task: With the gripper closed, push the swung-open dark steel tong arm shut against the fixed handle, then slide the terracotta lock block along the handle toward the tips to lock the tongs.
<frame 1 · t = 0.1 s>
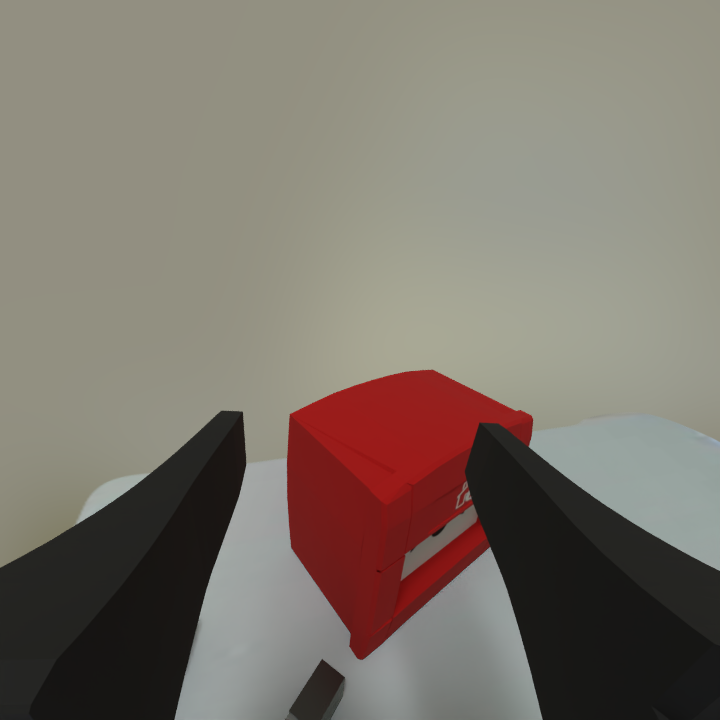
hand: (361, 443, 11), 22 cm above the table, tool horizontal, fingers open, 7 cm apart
red curved-top box: (394, 551, 33), on the table
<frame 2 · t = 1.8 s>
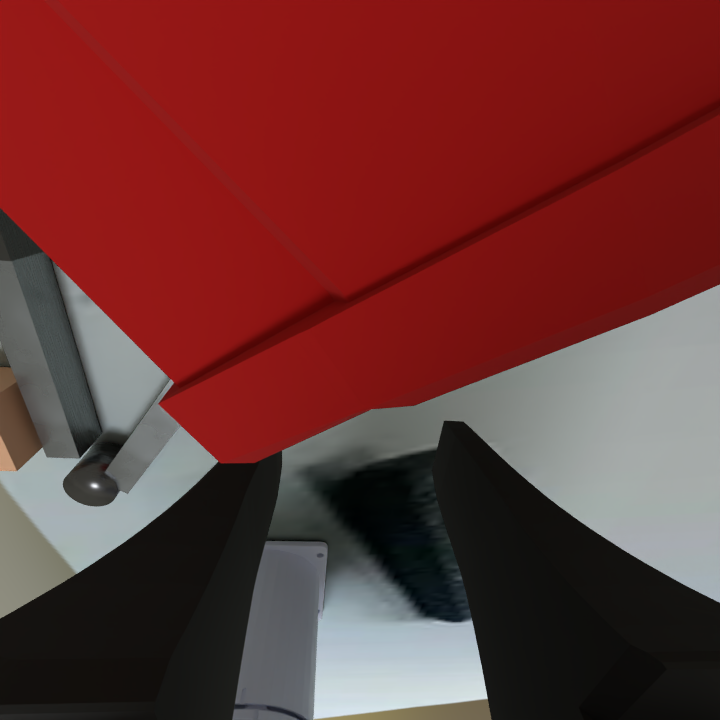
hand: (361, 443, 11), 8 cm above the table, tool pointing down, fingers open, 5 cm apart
tongs arm: (162, 395, 18), point 1 cm above the table, hinge at -35.0°
tongs handle: (114, 457, 22), on the table
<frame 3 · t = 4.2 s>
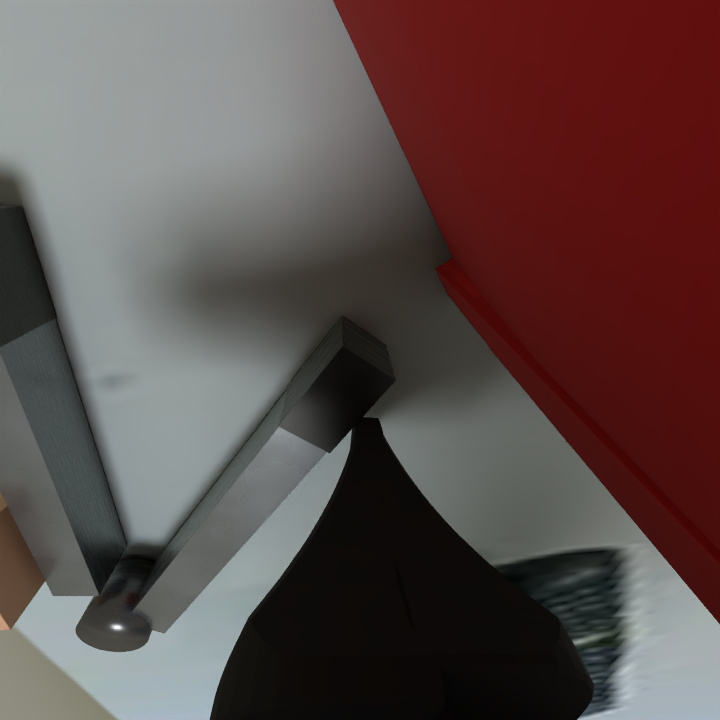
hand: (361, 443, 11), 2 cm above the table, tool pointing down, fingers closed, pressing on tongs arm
tongs arm: (209, 508, 13), point 1 cm above the table, hinge at -32.0°, touching gripper
tongs handle: (142, 572, 16), on the table
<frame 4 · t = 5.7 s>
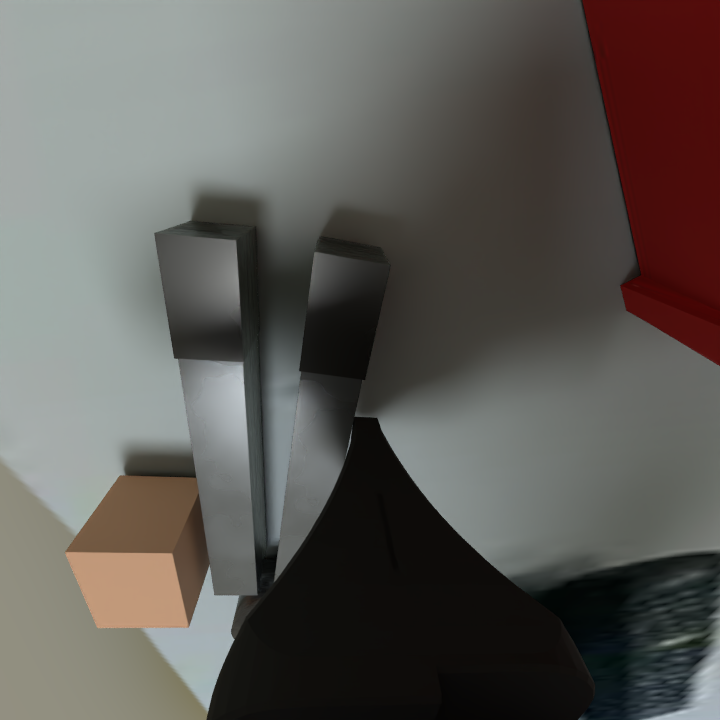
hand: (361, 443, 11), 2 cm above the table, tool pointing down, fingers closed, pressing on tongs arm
tongs arm: (290, 487, 12), point 1 cm above the table, hinge at -5.3°, touching gripper
tongs handle: (274, 573, 17), on the table
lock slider: (153, 549, 13), point 2 cm above the table, slide at 0.0 cm
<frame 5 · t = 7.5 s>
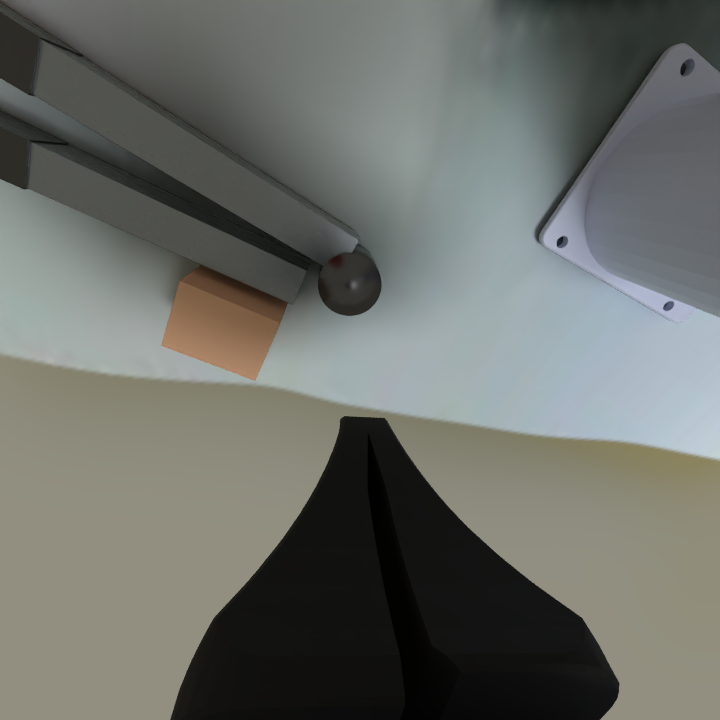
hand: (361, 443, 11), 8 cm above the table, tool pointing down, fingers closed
tongs arm: (198, 182, 14), point 1 cm above the table, hinge at -5.2°
tongs handle: (348, 271, 17), on the table
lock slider: (229, 320, 16), point 2 cm above the table, slide at 0.0 cm
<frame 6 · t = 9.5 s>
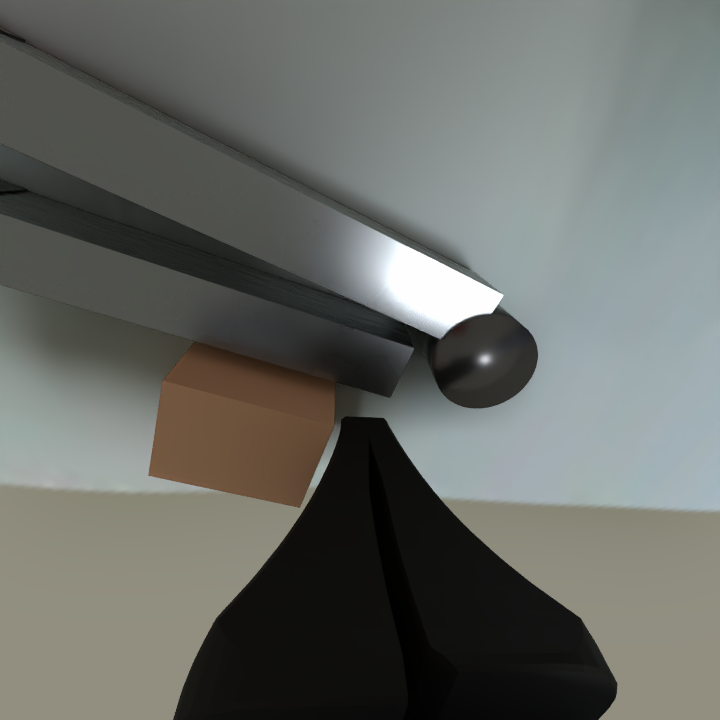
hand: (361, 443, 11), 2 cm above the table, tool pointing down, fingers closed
tongs arm: (234, 229, 8), point 1 cm above the table, hinge at -5.2°
tongs handle: (459, 328, 11), on the table
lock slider: (251, 415, 10), point 2 cm above the table, slide at 1.2 cm, touching gripper
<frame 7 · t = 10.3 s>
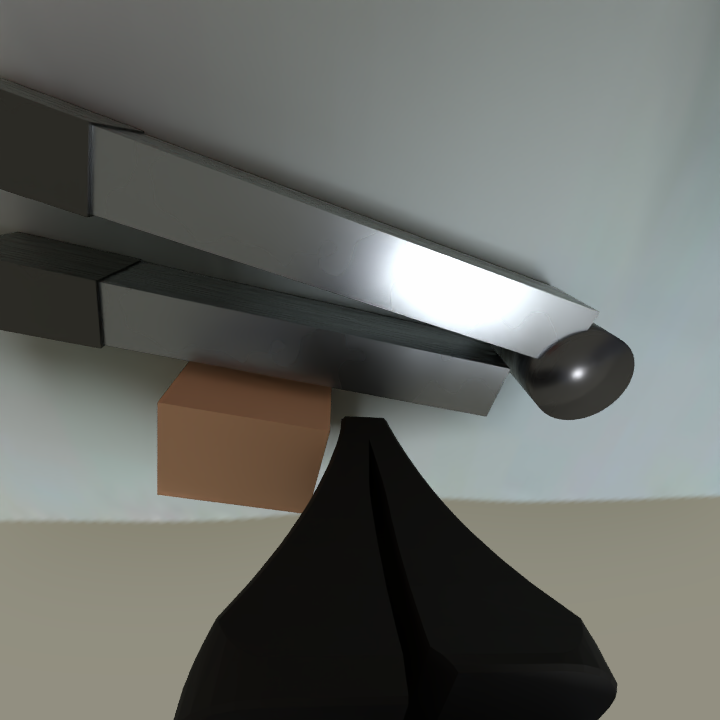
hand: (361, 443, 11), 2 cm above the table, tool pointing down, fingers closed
tongs arm: (337, 277, 9), point 1 cm above the table, hinge at -5.2°
tongs handle: (539, 341, 12), on the table
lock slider: (252, 427, 11), point 2 cm above the table, slide at 4.2 cm, touching gripper
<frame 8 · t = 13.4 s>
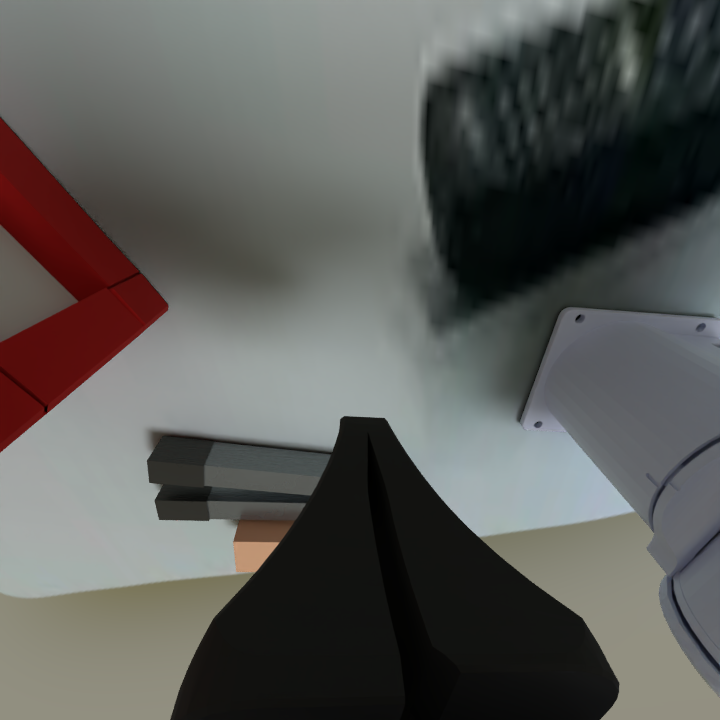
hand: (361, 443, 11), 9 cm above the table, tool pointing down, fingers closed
tongs arm: (294, 481, 23), point 1 cm above the table, hinge at -5.2°
tongs handle: (396, 478, 25), on the table
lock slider: (271, 536, 25), point 2 cm above the table, slide at 4.3 cm
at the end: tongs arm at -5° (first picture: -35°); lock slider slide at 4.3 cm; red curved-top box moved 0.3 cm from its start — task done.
